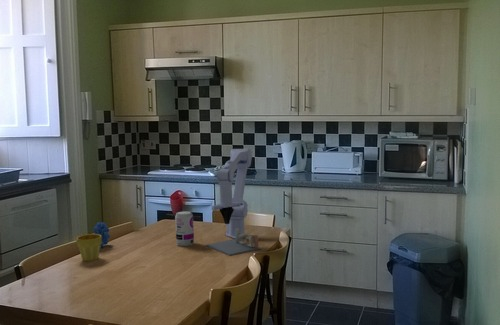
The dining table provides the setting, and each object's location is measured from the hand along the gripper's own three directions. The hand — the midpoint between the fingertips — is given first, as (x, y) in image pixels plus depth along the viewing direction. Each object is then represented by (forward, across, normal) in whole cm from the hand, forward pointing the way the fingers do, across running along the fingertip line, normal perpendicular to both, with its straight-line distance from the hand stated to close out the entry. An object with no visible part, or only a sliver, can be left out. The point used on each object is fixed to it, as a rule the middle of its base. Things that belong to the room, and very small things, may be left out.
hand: (227, 223), depth 241 cm
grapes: (+10, -48, +33) cm, 59 cm away
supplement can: (+10, -16, +12) cm, 22 cm away
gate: (+8, +3, -11) cm, 14 cm away
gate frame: (+9, -2, -8) cm, 12 cm away
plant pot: (+10, -59, +17) cm, 62 cm away
